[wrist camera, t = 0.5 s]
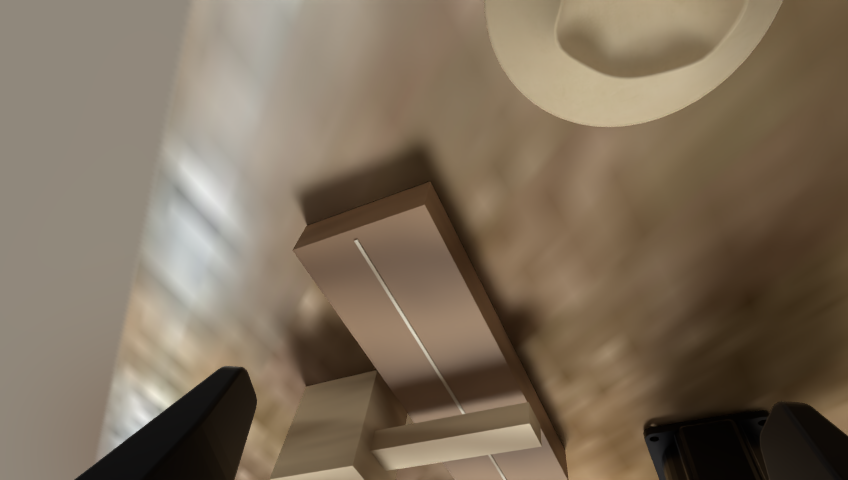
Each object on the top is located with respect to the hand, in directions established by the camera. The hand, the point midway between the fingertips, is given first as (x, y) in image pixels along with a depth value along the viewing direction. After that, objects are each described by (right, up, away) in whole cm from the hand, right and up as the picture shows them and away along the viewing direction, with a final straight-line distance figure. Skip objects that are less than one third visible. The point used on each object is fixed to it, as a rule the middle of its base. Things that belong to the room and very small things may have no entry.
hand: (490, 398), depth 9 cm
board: (0, -3, +19) cm, 19 cm away
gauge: (-2, -6, +21) cm, 22 cm away
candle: (+4, +12, +8) cm, 15 cm away
